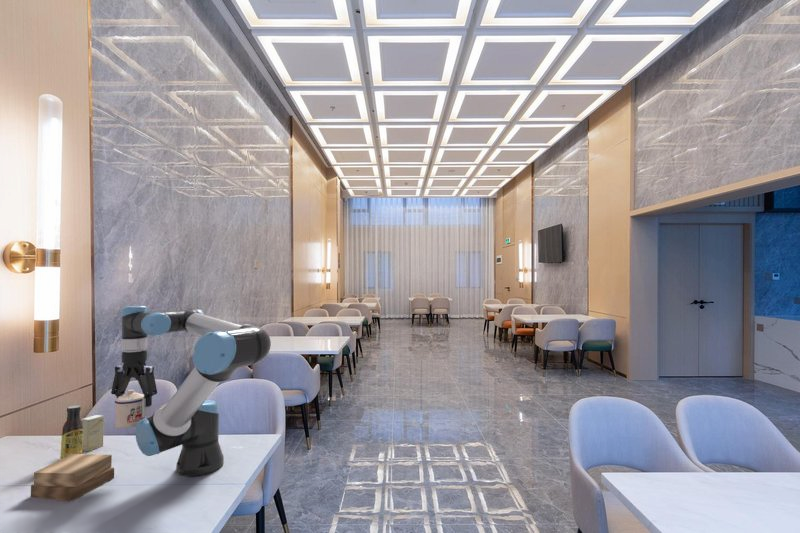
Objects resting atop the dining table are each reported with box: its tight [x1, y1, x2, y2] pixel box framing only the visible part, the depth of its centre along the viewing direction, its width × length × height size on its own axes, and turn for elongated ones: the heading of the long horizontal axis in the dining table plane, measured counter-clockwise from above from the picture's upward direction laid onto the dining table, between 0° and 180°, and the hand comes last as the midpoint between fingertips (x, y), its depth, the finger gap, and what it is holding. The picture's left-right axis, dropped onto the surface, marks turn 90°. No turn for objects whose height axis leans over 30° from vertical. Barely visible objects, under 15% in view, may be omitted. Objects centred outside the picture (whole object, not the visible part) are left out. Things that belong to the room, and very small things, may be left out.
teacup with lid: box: [114, 389, 146, 429], centre depth 146 cm, size 12×9×12 cm
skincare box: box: [80, 414, 105, 452], centre depth 167 cm, size 6×4×12 cm
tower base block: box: [30, 466, 115, 502], centre depth 135 cm, size 15×15×4 cm
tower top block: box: [33, 453, 113, 487], centre depth 135 cm, size 14×14×4 cm
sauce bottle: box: [59, 405, 83, 460], centre depth 155 cm, size 7×6×20 cm
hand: (133, 415), depth 146 cm, fingers closed on teacup with lid, 9 cm apart
